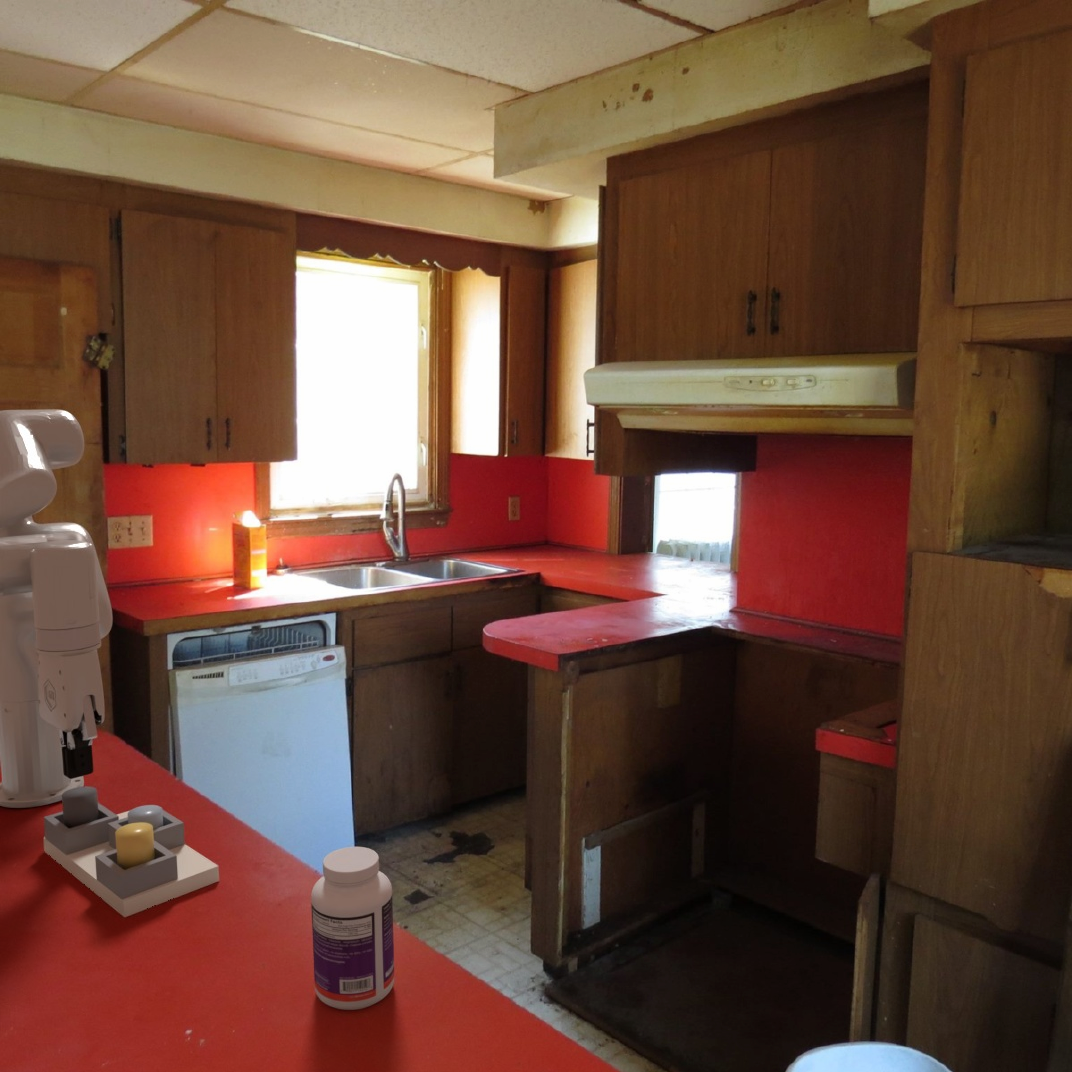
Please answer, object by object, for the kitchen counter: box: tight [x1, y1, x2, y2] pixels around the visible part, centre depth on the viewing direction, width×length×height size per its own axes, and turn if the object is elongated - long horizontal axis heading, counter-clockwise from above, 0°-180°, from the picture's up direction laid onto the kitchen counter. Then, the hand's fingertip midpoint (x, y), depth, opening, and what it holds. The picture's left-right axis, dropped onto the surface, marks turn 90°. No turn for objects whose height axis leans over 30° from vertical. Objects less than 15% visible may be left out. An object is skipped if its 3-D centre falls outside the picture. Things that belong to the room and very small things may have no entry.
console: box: [42, 802, 220, 918], centre depth 129 cm, size 24×12×5 cm, turn 46°
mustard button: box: [115, 822, 155, 869], centre depth 121 cm, size 4×4×4 cm
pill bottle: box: [310, 846, 395, 1011], centre depth 102 cm, size 8×8×14 cm
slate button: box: [128, 804, 163, 829], centre depth 130 cm, size 4×4×4 cm
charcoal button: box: [61, 785, 99, 828], centre depth 132 cm, size 4×4×4 cm
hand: (78, 774), depth 131 cm, fingers closed
